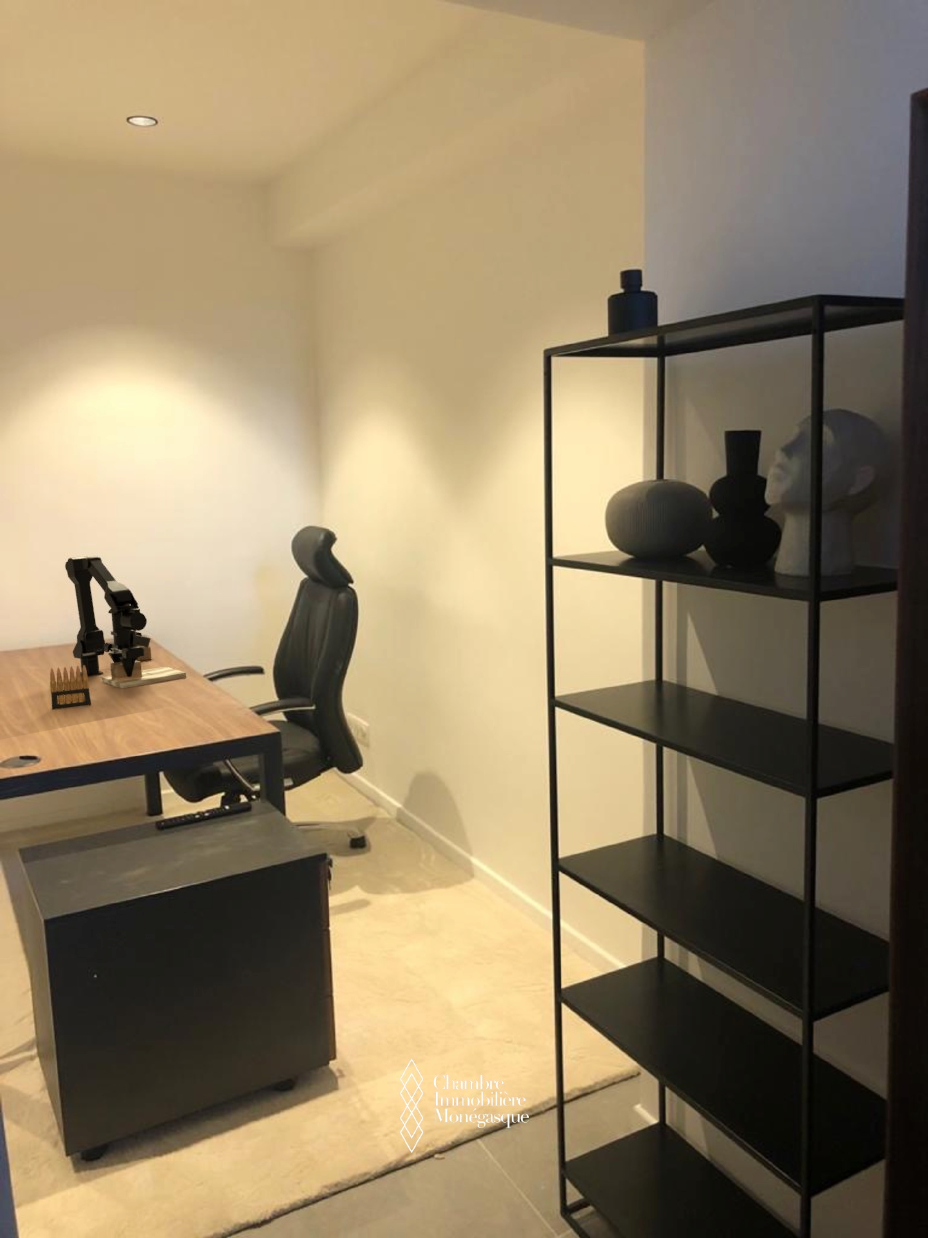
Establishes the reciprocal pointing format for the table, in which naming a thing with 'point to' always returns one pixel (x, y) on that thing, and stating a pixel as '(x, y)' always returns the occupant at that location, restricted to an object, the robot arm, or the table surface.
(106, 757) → the table surface
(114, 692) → the table surface
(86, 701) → the ammunition clip
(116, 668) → the block
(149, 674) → the pine board
